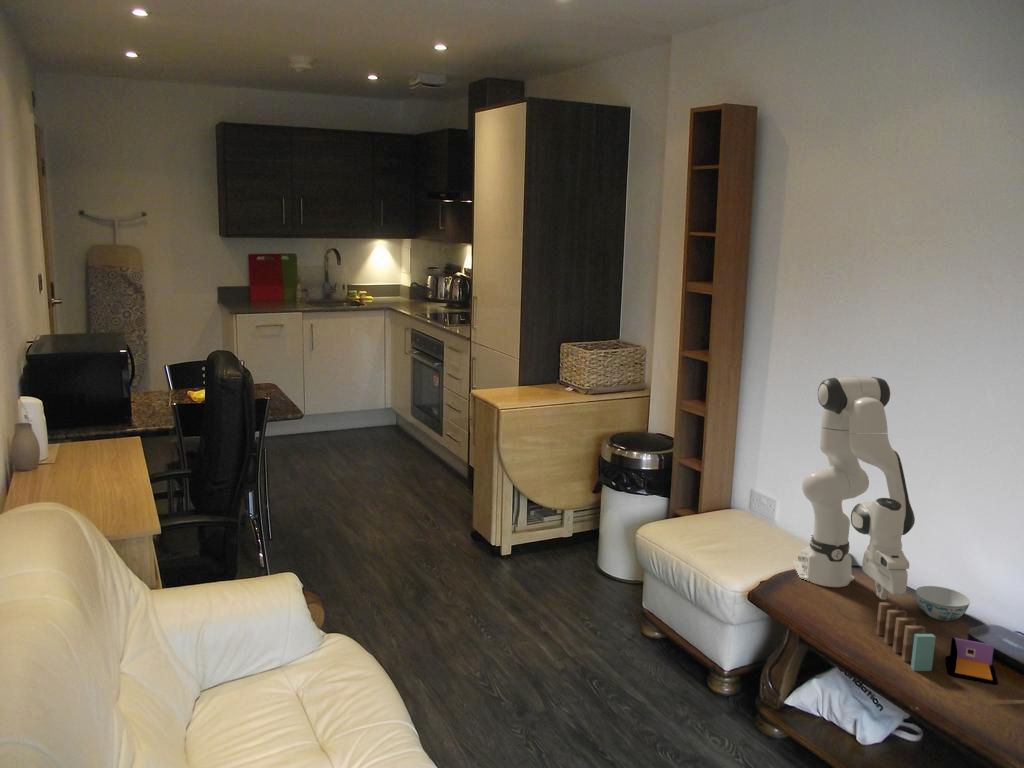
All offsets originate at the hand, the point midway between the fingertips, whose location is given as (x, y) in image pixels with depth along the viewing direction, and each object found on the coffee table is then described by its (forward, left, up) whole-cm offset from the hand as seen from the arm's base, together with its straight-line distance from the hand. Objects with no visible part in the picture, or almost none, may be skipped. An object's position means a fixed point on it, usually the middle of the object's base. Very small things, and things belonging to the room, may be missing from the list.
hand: (881, 597), depth 249 cm
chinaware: (-7, +23, -10) cm, 26 cm away
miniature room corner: (+25, +14, -10) cm, 30 cm away
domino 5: (+24, 0, -10) cm, 26 cm away
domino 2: (+9, 0, -10) cm, 14 cm away
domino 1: (+4, 0, -10) cm, 11 cm away
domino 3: (+14, 0, -10) cm, 17 cm away
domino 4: (+19, 0, -10) cm, 22 cm away
